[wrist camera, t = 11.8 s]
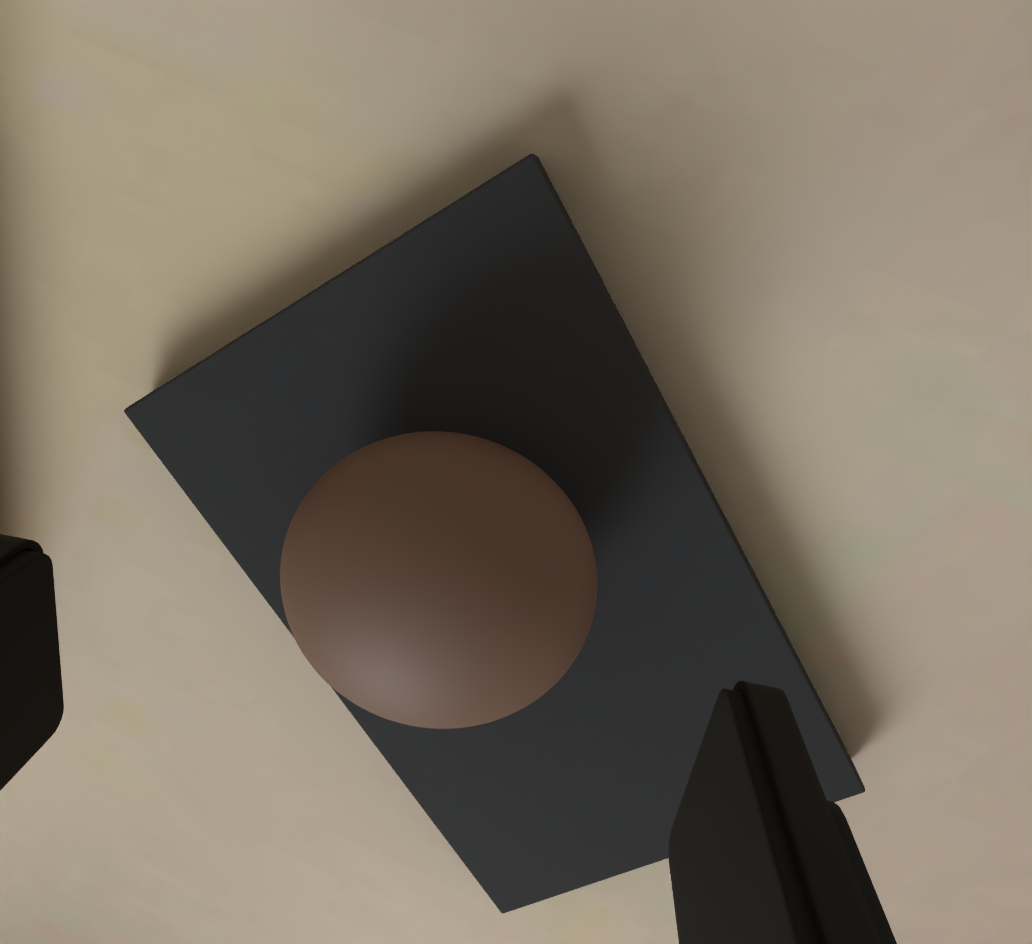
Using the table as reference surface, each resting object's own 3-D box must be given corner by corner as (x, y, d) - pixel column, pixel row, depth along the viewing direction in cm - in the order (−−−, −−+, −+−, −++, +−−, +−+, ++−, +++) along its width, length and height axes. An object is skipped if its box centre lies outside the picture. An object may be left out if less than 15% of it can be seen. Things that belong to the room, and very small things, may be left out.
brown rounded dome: (384, 679, 17) (329, 813, 14) (274, 454, 16) (176, 537, 12) (630, 616, 16) (644, 744, 13) (543, 364, 14) (527, 426, 11)
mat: (147, 398, 17) (121, 410, 16) (536, 154, 14) (533, 152, 13) (505, 882, 21) (501, 914, 20) (852, 761, 18) (866, 792, 17)
